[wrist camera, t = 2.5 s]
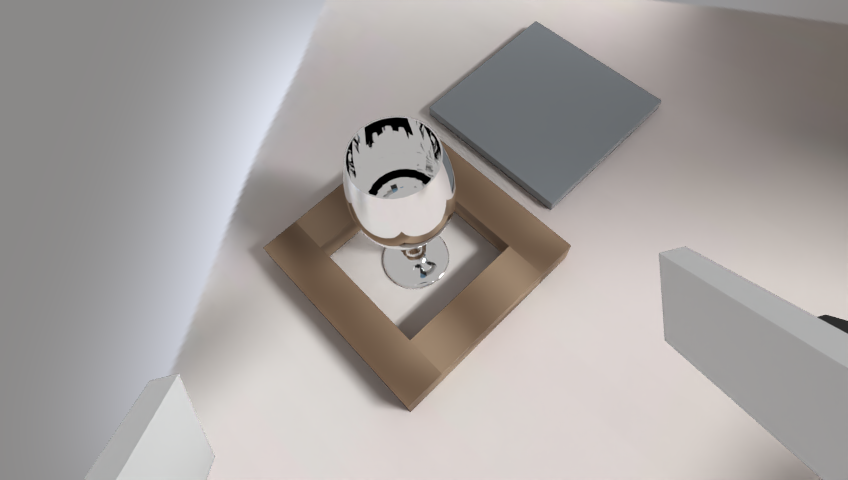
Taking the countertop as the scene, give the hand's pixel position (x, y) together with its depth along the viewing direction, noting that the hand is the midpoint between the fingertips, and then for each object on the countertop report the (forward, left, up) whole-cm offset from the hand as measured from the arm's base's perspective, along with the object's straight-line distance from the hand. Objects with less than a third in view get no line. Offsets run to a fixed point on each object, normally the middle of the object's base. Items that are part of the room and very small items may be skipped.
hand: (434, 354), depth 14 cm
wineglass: (-6, -9, -18) cm, 21 cm away
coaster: (-21, -11, -18) cm, 30 cm away
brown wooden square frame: (-6, -9, -18) cm, 21 cm away
